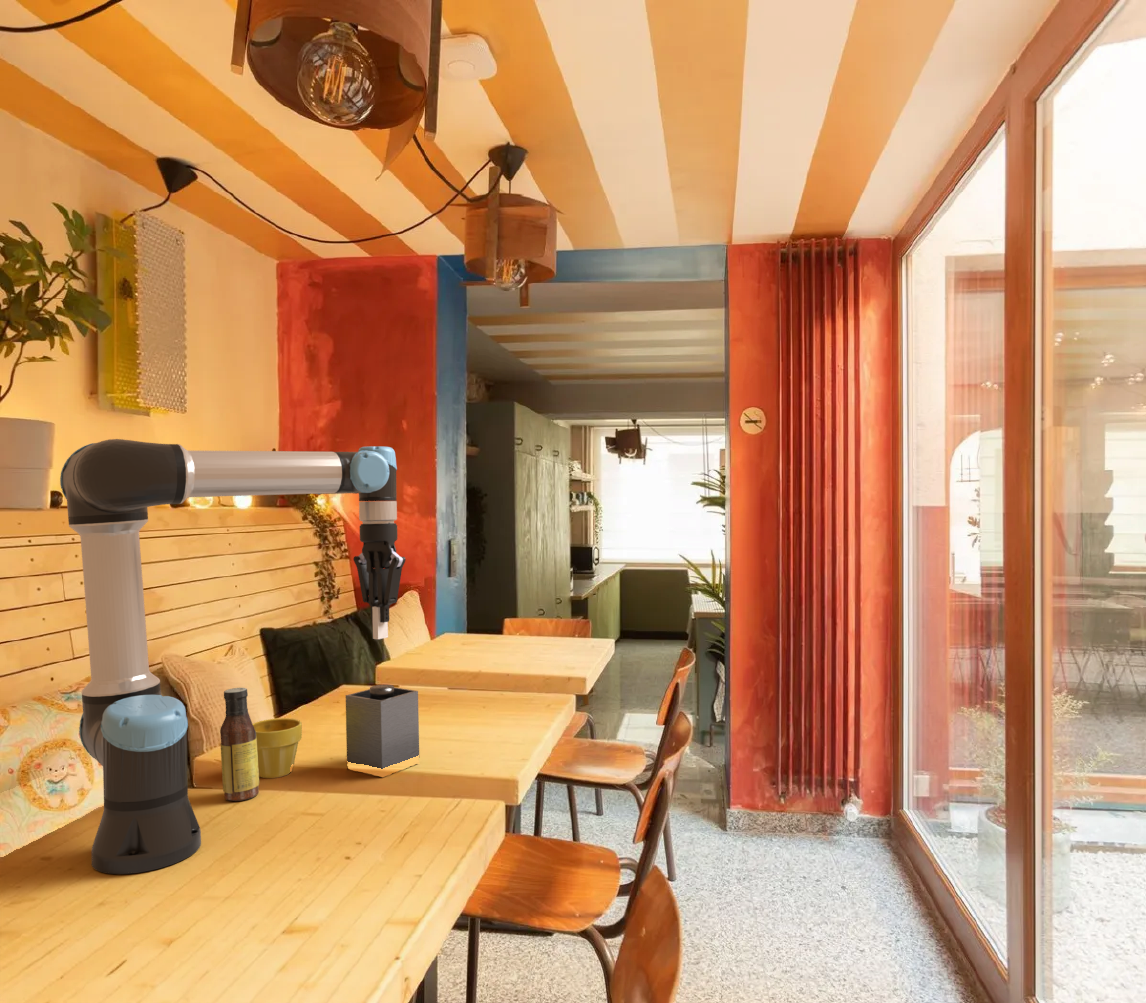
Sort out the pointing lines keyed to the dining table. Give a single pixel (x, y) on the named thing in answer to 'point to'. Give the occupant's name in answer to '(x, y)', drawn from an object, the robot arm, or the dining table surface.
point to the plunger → (381, 692)
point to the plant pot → (277, 745)
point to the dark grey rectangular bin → (382, 728)
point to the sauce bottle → (238, 748)
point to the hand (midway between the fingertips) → (380, 638)
